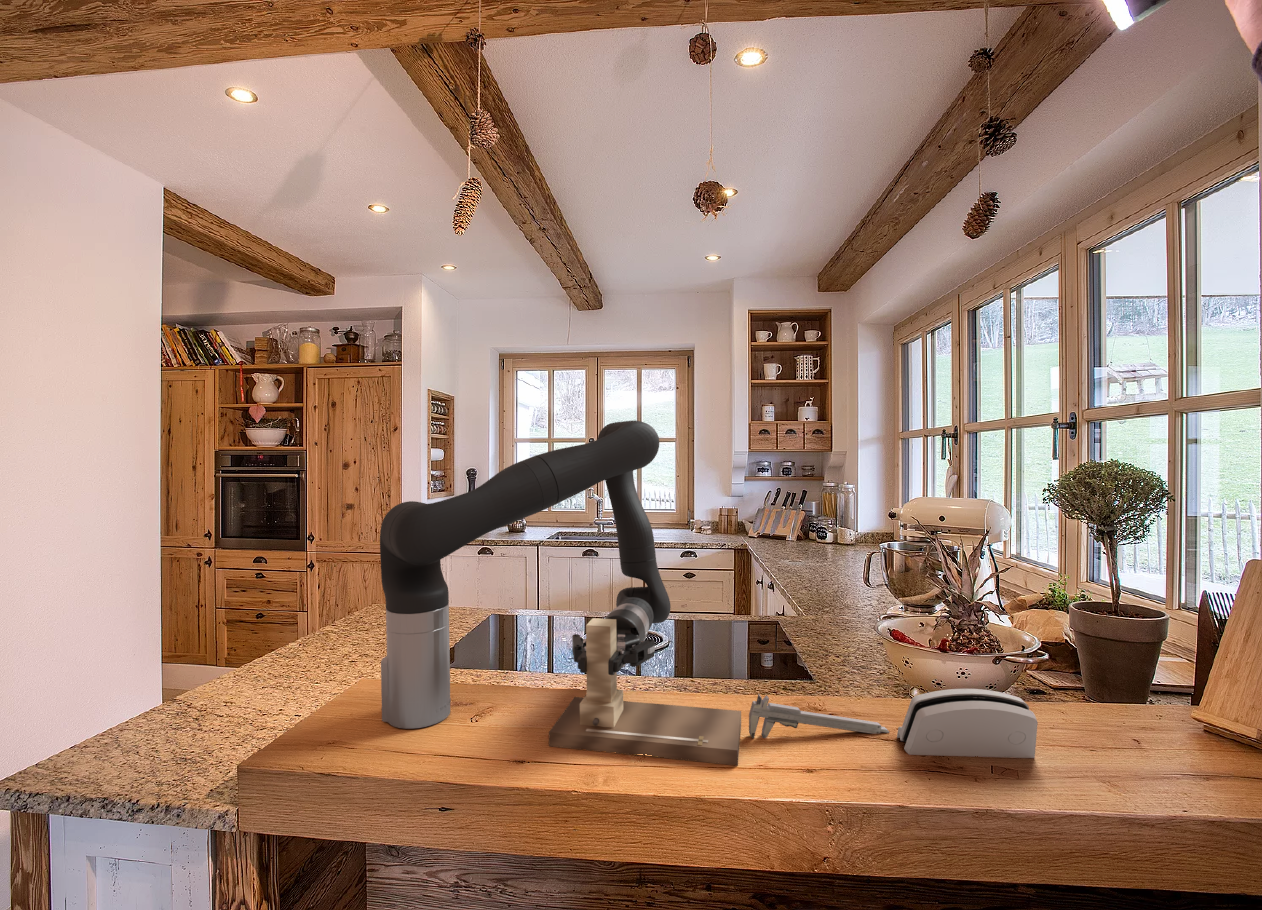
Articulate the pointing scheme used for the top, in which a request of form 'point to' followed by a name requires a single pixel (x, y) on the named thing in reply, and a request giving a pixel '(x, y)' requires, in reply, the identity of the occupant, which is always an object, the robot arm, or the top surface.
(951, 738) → the grey toaster
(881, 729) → the caliper
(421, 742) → the top surface
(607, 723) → the beige tall block
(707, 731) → the board
